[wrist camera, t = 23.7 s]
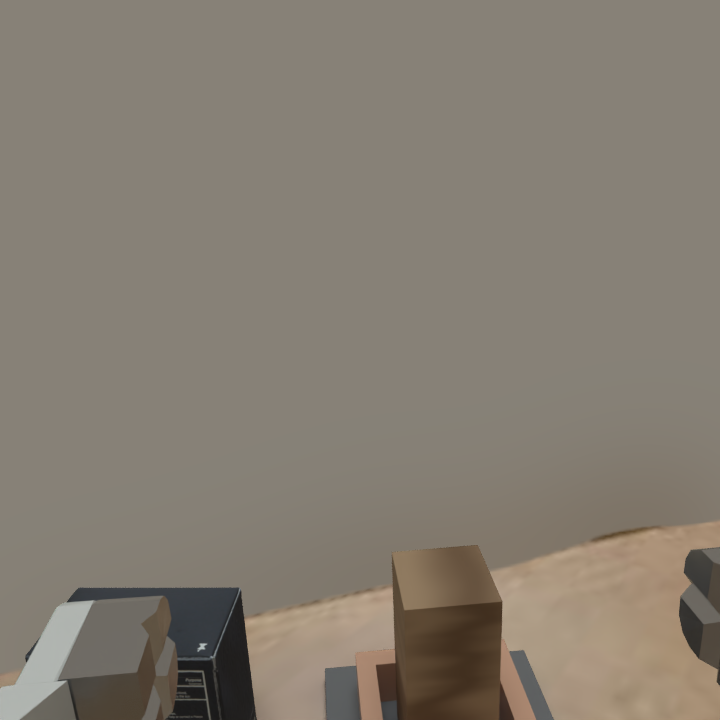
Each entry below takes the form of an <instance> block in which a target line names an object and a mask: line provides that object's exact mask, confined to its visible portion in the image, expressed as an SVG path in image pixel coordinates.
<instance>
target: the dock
mask: <svg viewBox="0 0 720 720" xmlns="http://www.w3.org/2000/svg"><path fill="white" fill-rule="evenodd" d="M355 654H356V666H348V667H337V668H326V669H325V683H326V713H327V720H398V718H397V695H396V665H395V649H390V650H379V651H368V652H357V653H355ZM499 720H554V719H553V717H552V715H551V712H550V710H549V708H548V705H547V703H546V701H545V698H544V696H543V694H542V691H541V689H540V687H539V684H538V682H537V680H536V678H535V675H534V673H533V671H532V668H531V666H530V664H529V661H528V659H527V657H526V654H525V652H524V650H521V651H510V652H509V651H508V648H507V646H506V643H505V641H504V639H501V667H500V703H499Z"/></svg>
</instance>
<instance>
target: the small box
mask: <svg viewBox="0 0 720 720" xmlns="http://www.w3.org/2000/svg"><path fill="white" fill-rule="evenodd" d="M150 596H165V597H166V599H167V600H168V603H169V609H170V614H171V622H170V626H169V630H168V633H167V636H168V637H169V638H170V639H171V640H172V641H173V642H174V643H175V645H176V652H177V663H178V680H177V693H176V699H175V703H174V708H173V712H172V713H171V714H170V715H169V716H168V717H167V718H166V719H165V720H257V719H256V713H255V705H254V696H253V688H252V680H251V672H250V664H249V656H248V648H247V639H246V631H245V621H244V614H243V606H242V599H241V589H240V588H78V589H77V590H76V591H75V592H74V594H73V595H72V596H71V597H70V598H69V600H68V601H67V602H66V603H68V602H80V601H92V600H94V601H97V600H104V599H120V598H135V597H150ZM40 637H41V636H40ZM39 639H40V638H39ZM39 639H38V640H39ZM38 640H37V642H38ZM37 642H36V643H35V644H34V646H33V647H32V648H31V650H30V651H29V652H28V653H27V655H26V658H25V659H26V663H27V661H28V659H29V657H30V655H31V653H32V652H33V650H34V648H35V646H36V644H37Z"/></svg>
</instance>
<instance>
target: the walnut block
mask: <svg viewBox="0 0 720 720" xmlns="http://www.w3.org/2000/svg"><path fill="white" fill-rule="evenodd" d="M392 572H393V604H394V635H395V665H396V695H397V718H398V720H499V703H500V667H501V632H502V600H501V597H500V595H499V593H498V590H497V588H496V586H495V584H494V581H493V579H492V577H491V574H490V572H489V570H488V568H487V565H486V563H485V561H484V558H483V556H482V554H481V552H480V549H479V547H478V545H471V546H460V547H449V548H437V549H424V550H412V551H400V552H392Z"/></svg>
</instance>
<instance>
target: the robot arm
mask: <svg viewBox="0 0 720 720" xmlns="http://www.w3.org/2000/svg"><path fill="white" fill-rule="evenodd" d="M684 574H685V575H686V576H687V578H688V579H689V581H690V582H691V583H692V584H691V585H690V586H689V587H688V588H687V589H686V591H685V592H684V593H683V594H682V595H681V597H680V609H679V617H680V622H681V626H682V631H683V634H684V636H685V638H686V640H687V642H688V644H689V646H690V648H691V649H692V650H693V652H694V653H695V654H696V656H697V657H698V658H699V659H700V660H702V661H704V662H705V663H707V664H709V665H711V666H713V667H714V668H716V669H718V672H717V683H718V684H719V685H720V547H717V548H707V549H696V550H691V551H690V552H689V554H688V556H687V558H686V561H685V568H684ZM170 622H171V614H170V609H169V603H168V600H167V599H166V597H165V596H150V597H135V598H120V599H104V600H97V601H94V600H92V601H80V602H68V603H63V604H61V605H60V606H58V607H57V608H56V609H55V611H54V613H53V615H52V617H51V618H50V620H49V622H48V624H47V626H46V628H45V629H44V631H43V633H42V635H41V637H40V639H39V640H38V642H37V644H36V646H35V648H34V650H33V652H32V653H31V655H30V657H29V659H28V661H27V663H26V665H25V666H24V668H23V670H22V672H21V674H20V676H19V677H18V679H17V681H16V683H15V685H13V686H4V687H2V688H1V689H0V720H165V719H166V718H167V717H168V716H169V715H170V714H171V713H172V712H173V708H174V703H175V699H176V693H177V680H178V663H177V652H176V645H175V643H174V642H173V641H172V640H171V639H170V638H169V637H168V636H167V633H168V630H169V626H170Z"/></svg>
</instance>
